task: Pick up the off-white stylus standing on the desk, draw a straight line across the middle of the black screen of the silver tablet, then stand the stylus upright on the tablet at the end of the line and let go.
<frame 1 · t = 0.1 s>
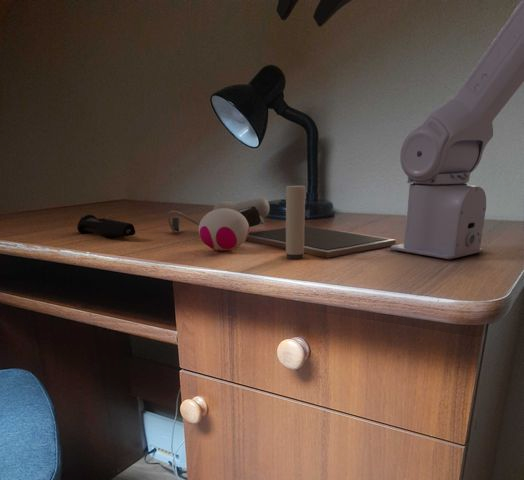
hand: (299, 18, 76), 32 cm above the table, tool tilted 50°, fingers open, 7 cm apart
stylus: (294, 257, 65), on the table
stress ball: (222, 252, 71), on the table
white corded device: (216, 235, 85), on the table
electric trimmer: (107, 237, 84), on the table
tablet: (314, 241, 76), on the table
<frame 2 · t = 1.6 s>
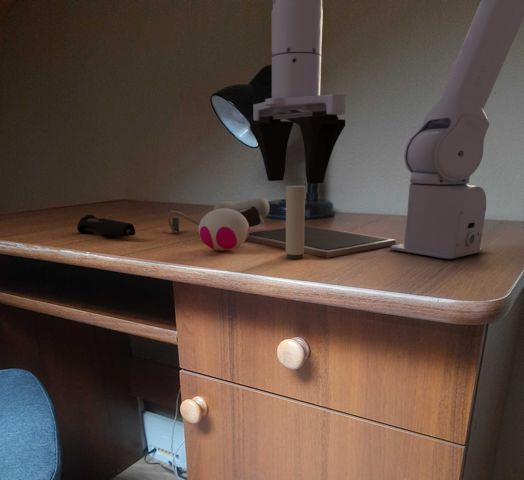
hand: (294, 181, 62), 10 cm above the table, tool pointing down, fingers open, 7 cm apart
nothing on the table moved.
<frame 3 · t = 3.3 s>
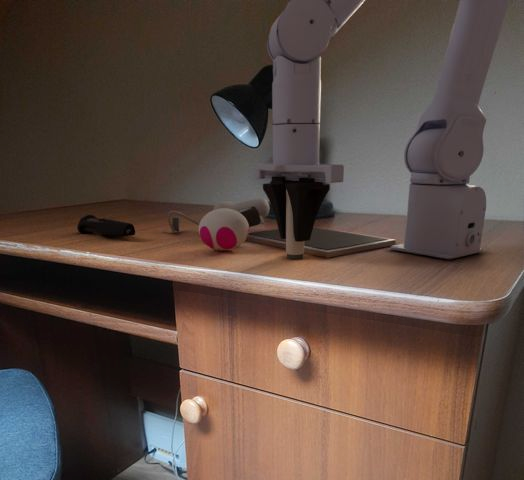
hand: (295, 239, 64), 2 cm above the table, tool pointing down, fingers closed on stylus, 2 cm apart
stylus: (295, 257, 65), on the table, touching gripper
everything else where it was.
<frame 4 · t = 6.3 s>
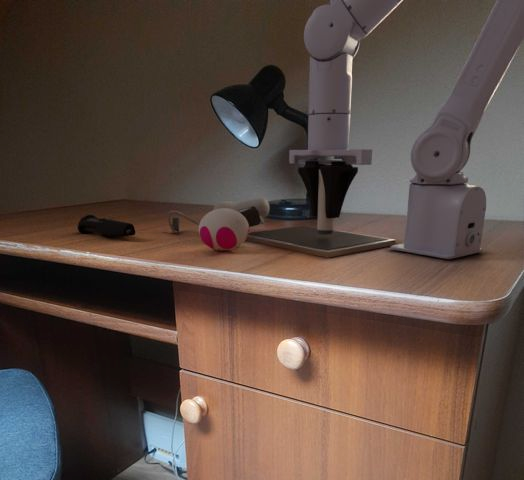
hand: (325, 216, 73), 4 cm above the table, tool pointing down, fingers closed on stylus, 2 cm apart
stylus: (325, 233, 74), point 2 cm above the table, touching gripper
everything else where it was.
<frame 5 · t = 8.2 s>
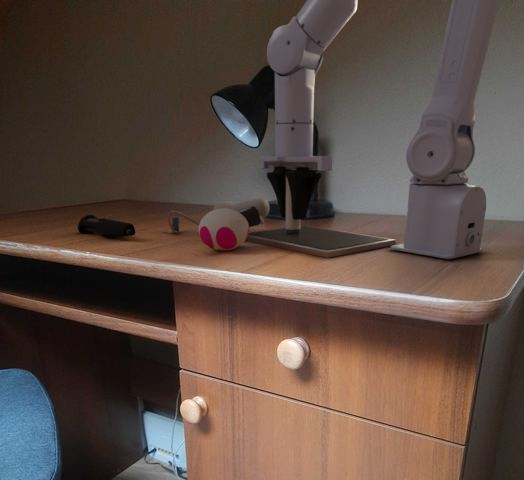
hand: (293, 218, 78), 3 cm above the table, tool pointing down, fingers closed on stylus, 2 cm apart
stylus: (293, 232, 79), point 1 cm above the table, touching gripper
everything else where it was.
when the fingers open (3 cm above the table, at t = 9.6 s): stylus stays where it is, resting on tablet.
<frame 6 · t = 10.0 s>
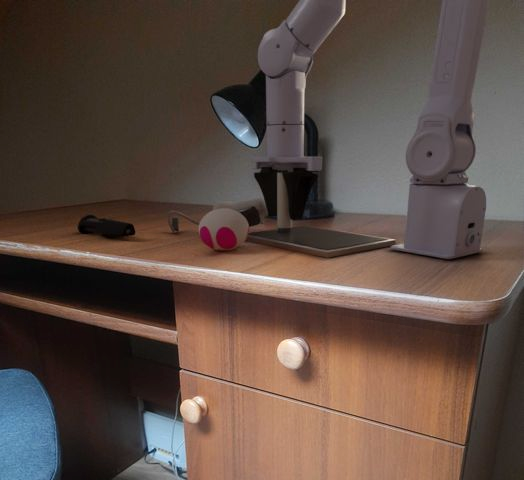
hand: (285, 217, 80), 3 cm above the table, tool pointing down, fingers open, 5 cm apart
stylus: (284, 230, 81), point 1 cm above the table, touching tablet
white corded device: (215, 235, 85), on the table, touching gripper
everything else where it was.
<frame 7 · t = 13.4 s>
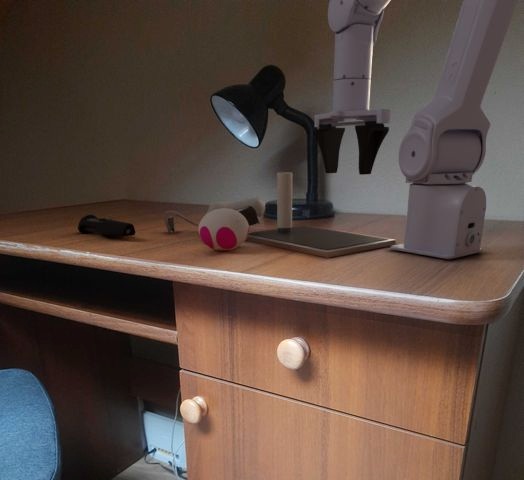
hand: (347, 173, 82), 9 cm above the table, tool pointing down, fingers open, 7 cm apart
white corded device: (212, 234, 85), on the table
everything else where it was.
at the end: stylus 0.0 cm from the target spot, point 0.9 cm above the table; stylus tilted 0°; the gripper is holding nothing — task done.
